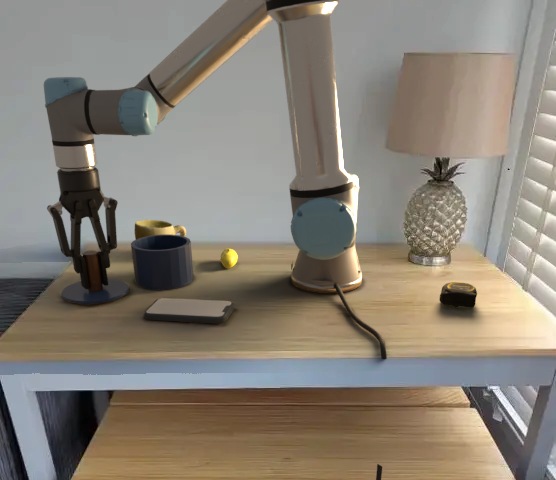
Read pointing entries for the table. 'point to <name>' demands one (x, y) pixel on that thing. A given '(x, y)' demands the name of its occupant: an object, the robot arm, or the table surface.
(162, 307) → the phone case
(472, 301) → the tape measure
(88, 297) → the lid
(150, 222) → the mug
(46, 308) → the table surface
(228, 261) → the lemon
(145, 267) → the tin
